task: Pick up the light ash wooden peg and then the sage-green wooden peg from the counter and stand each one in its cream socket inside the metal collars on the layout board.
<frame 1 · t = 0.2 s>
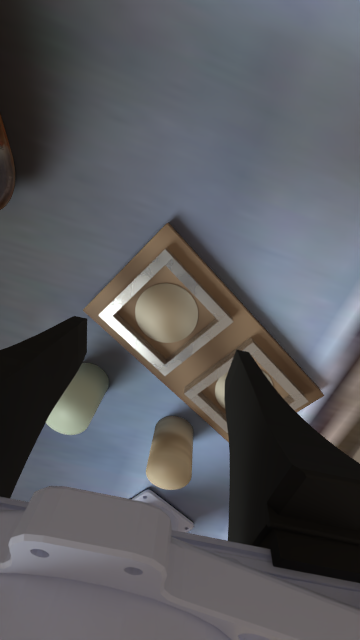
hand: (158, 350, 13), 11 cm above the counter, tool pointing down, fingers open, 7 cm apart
layout board: (206, 348, 25), on the counter
ash peg: (174, 431, 29), on the counter
sage peg: (88, 380, 27), on the counter
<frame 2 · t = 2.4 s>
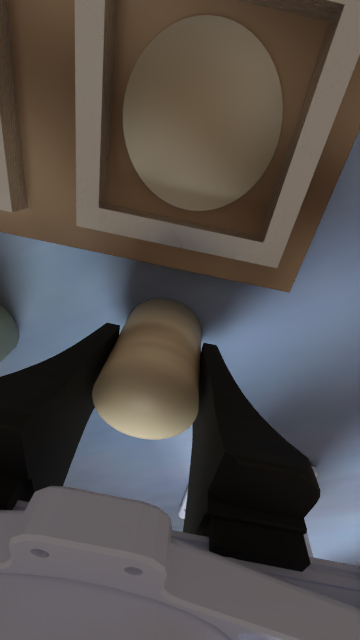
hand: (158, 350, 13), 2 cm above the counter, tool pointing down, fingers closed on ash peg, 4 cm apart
layout board: (65, 100, 10), on the counter
ash peg: (163, 332, 15), on the counter, touching gripper
when the fingers open (4 cm above the counter, at t = 5.6 s): ash peg stays where it is, resting on layout board.
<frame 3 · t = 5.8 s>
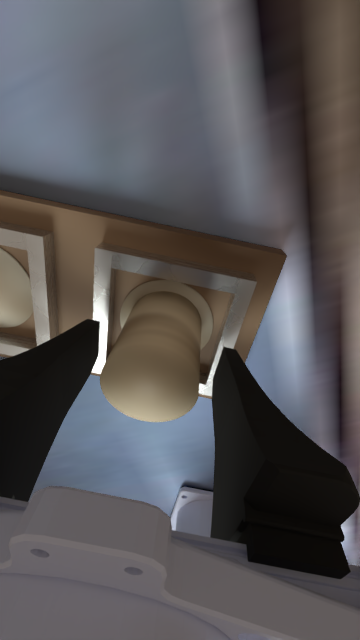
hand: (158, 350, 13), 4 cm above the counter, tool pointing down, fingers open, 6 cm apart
layout board: (85, 297, 16), on the counter
ash peg: (165, 323, 15), point 1 cm above the counter, touching layout board
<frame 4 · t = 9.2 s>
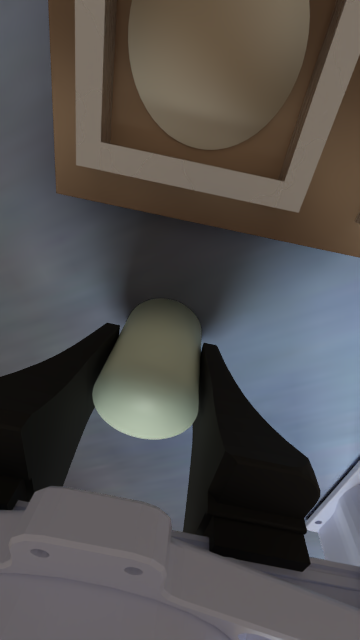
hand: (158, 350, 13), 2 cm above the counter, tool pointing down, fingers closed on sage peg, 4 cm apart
sage peg: (163, 332, 15), on the counter, touching gripper
when the fingers open (4 cm above the counter, at t = 12.7 s): sage peg stays where it is, resting on layout board.
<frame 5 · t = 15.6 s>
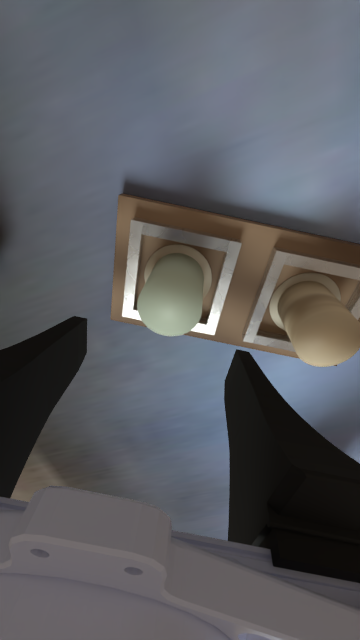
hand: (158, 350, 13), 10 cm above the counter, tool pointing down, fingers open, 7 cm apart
layout board: (239, 286, 22), on the counter
ash peg: (304, 304, 21), point 1 cm above the counter, touching layout board
sage peg: (177, 278, 21), point 1 cm above the counter, touching layout board
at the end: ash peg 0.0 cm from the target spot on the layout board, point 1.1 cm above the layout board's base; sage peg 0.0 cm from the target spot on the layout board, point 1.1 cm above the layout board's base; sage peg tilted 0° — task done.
